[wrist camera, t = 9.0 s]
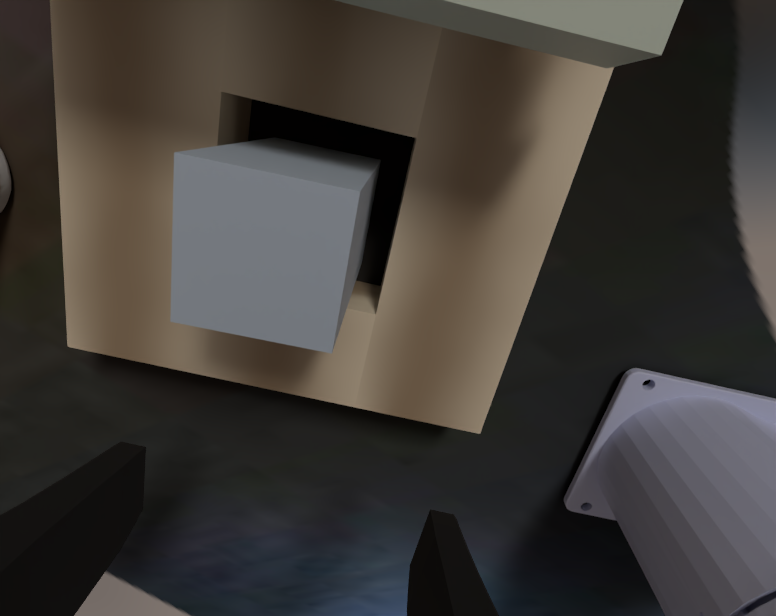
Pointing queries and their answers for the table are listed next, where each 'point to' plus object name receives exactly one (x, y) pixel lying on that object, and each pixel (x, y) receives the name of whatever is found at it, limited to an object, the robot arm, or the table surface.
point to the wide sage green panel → (552, 24)
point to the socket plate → (339, 101)
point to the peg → (269, 239)
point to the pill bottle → (4, 181)
